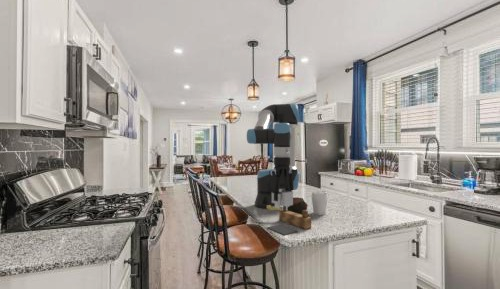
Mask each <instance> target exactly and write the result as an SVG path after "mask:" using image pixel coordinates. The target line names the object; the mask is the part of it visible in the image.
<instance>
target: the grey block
mask: <svg viewBox="0 0 500 289" xmlns="http://www.w3.org/2000/svg"><path fill="white" fill-rule="evenodd" d="M278 194H280V207H283V206H290V205H293V198H294V192H293V191H287V190H282V189H279V193H278ZM272 203H274V204H275V201H274V193H272Z"/></svg>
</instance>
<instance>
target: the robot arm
mask: <svg viewBox="0 0 500 289" xmlns="http://www.w3.org/2000/svg"><path fill="white" fill-rule="evenodd" d="M257 118H258V119H257V122H256V123H255V126H254V128H249V129H247V131H246V141H247V144H250V145H253V144H254V145H266V144H267V145H268V144H269V145H271V144H272V145H273V156H274V157H273V165H274V168H268V169H261V170H258V171H257V176H256V177H257V178H256V179H257V183H256V184H257V188H256V189H257V191H256V192H257V193H256V197H255V200H254V207H256V208H260V209H261V208H262V209H267V205H270V206H275V208H278V209H280V207H281V205H280V194H278V193H279V189H282V190H287V191H292V192H293V191H296V190H298V189H299V181H300V173H301V172H300V171H299V170H298V167H297V166H296V128H297V126H298V123H300V120H301V119H300V113H299V107H298V104H296V103H282V104H278V103H277V104H276V103H275V104H270V105H267V106H265V107H264V108H262V109H261V111H260V112H259V114H258V117H257ZM273 123H274V124H273ZM271 124H273V128H270V126H271ZM272 193H274V201H275V204H274V203H272ZM286 207H289V206H286Z"/></svg>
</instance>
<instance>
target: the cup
mask: <svg viewBox="0 0 500 289" xmlns="http://www.w3.org/2000/svg"><path fill="white" fill-rule="evenodd" d="M328 195H329V194H328V192H327V191H324V190H323V191H322V190H313V191H311V203H312V204H311V205H312V211H313V214H315V215H320V216H322V215H324V216H325V215H326V214H327V207H328V198H329V197H328Z"/></svg>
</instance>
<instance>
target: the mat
mask: <svg viewBox="0 0 500 289" xmlns="http://www.w3.org/2000/svg"><path fill="white" fill-rule="evenodd" d="M266 228H267V230H271V231H273V232H274V233H275V232H276V233H278V234H280V235H283V236H288V235H291V234H295V233H298V230H296V229H293V228H290V227H288V226H286V225H284V224H280V223H279V224H276V225H271V226H268V227H266Z"/></svg>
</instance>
